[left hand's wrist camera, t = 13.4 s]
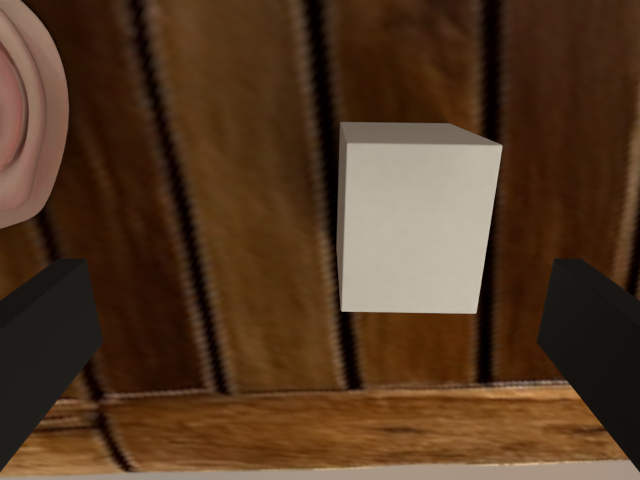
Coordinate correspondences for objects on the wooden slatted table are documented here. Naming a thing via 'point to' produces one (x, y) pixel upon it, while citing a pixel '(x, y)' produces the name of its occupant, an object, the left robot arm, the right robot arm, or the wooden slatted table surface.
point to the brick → (413, 216)
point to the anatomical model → (29, 113)
